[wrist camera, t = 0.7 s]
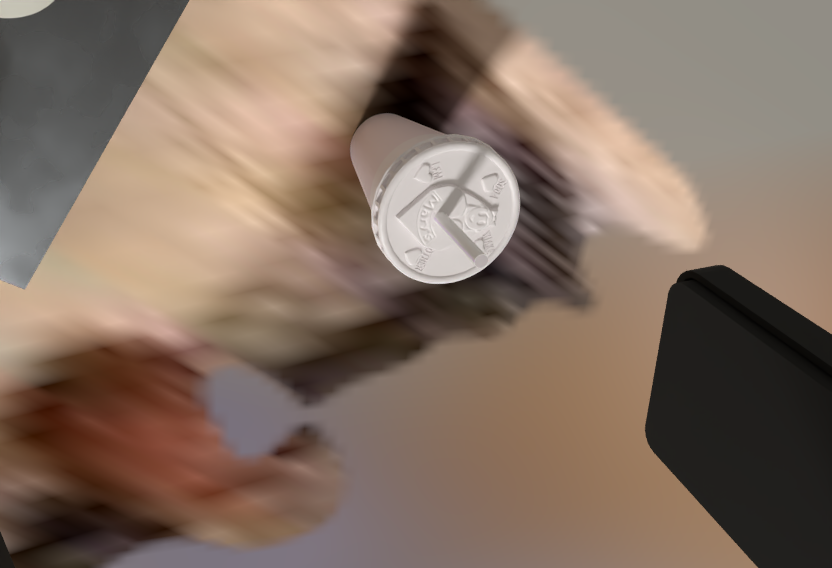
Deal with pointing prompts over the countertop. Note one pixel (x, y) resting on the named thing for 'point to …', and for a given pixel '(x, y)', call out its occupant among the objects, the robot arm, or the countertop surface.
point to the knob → (21, 7)
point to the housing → (65, 109)
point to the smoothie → (434, 198)
